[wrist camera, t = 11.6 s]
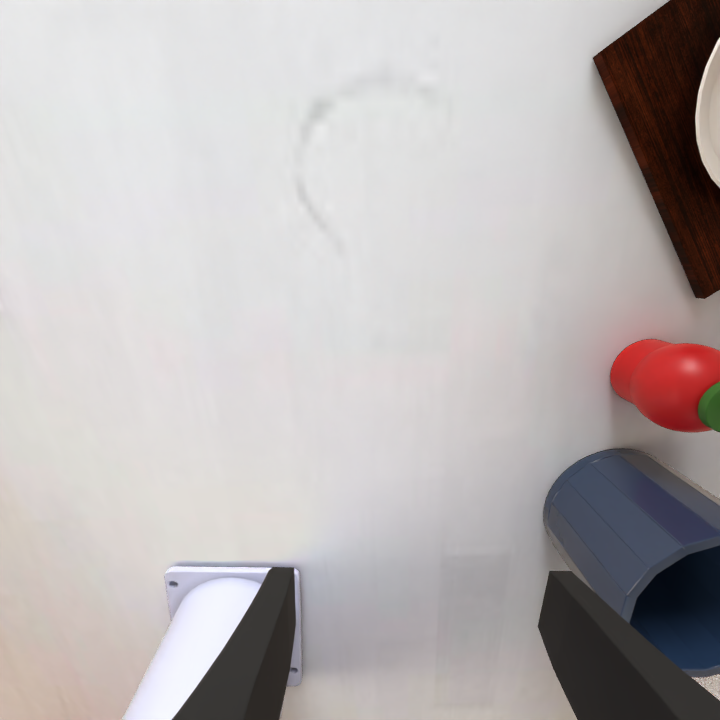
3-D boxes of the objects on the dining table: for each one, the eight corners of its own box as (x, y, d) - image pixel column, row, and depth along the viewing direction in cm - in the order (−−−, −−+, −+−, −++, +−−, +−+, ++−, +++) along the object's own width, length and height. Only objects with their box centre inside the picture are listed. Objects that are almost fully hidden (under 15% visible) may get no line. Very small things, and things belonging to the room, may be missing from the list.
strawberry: (670, 407, 19) (787, 463, 14) (596, 405, 19) (686, 461, 14) (691, 333, 18) (826, 365, 13) (613, 331, 18) (716, 363, 13)
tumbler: (656, 560, 22) (773, 679, 16) (533, 558, 22) (602, 677, 16) (690, 449, 20) (840, 536, 14) (555, 447, 20) (644, 533, 14)
